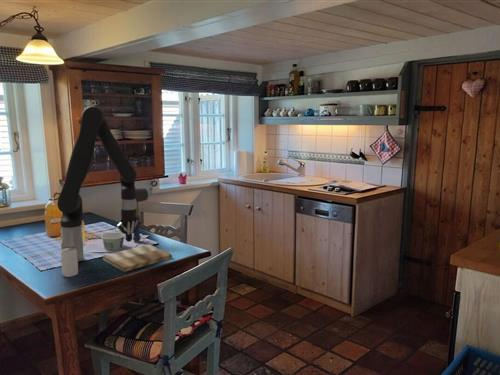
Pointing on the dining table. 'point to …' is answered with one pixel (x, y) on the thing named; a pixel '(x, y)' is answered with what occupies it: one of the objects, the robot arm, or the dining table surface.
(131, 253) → the cream ridged flat piece
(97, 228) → the dining table surface
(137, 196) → the rubber mallet
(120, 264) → the oak board
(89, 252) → the dining table surface
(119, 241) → the food container
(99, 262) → the dining table surface
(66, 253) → the can
